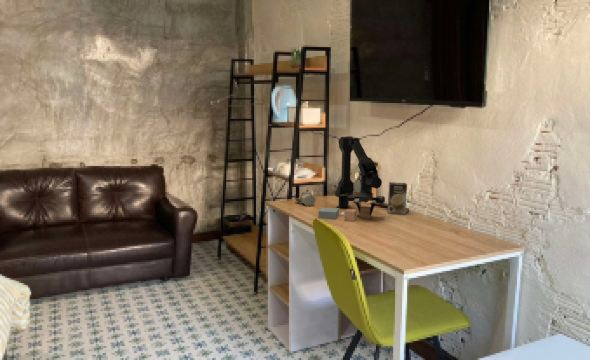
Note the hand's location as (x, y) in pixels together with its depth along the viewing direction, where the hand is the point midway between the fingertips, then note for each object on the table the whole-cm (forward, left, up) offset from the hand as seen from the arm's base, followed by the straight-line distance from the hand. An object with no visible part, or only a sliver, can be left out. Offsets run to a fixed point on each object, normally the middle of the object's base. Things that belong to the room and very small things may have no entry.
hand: (365, 215), depth 264 cm
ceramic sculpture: (-20, -38, -1) cm, 43 cm away
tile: (-2, -10, -1) cm, 10 cm away
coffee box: (-15, +14, -1) cm, 21 cm away
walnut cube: (0, 0, -1) cm, 1 cm away
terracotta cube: (+9, -6, -1) cm, 11 cm away
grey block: (+6, -18, -1) cm, 19 cm away
